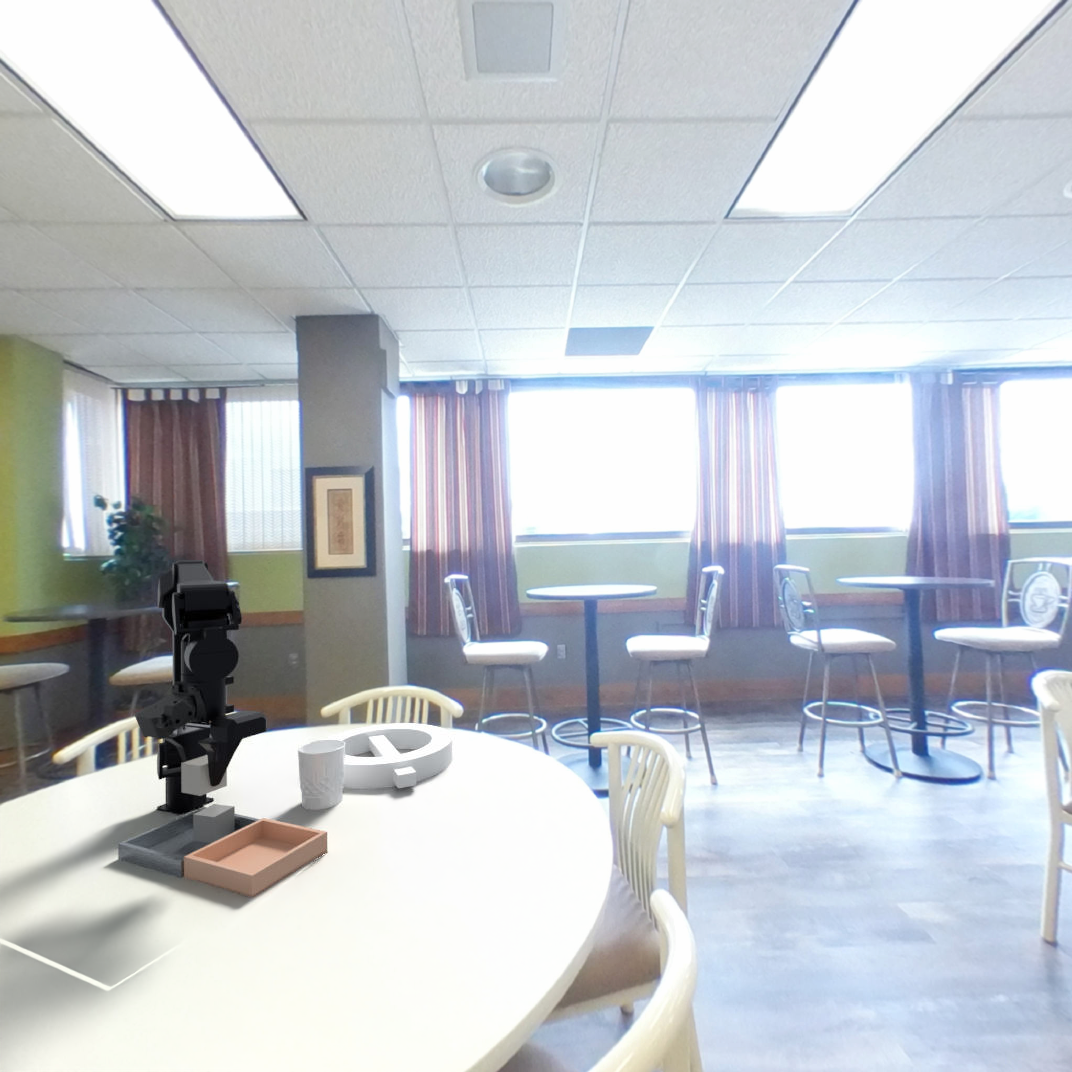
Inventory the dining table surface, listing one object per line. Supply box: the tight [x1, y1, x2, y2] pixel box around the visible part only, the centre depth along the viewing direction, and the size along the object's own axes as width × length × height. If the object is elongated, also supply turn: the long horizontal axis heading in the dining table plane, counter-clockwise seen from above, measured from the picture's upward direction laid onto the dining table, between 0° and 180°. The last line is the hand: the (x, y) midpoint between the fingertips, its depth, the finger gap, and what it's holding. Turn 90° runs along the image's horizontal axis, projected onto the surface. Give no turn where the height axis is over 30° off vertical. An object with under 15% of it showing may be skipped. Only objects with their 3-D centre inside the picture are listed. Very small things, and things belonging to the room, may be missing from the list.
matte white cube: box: [181, 755, 228, 796], centre depth 84 cm, size 4×4×4 cm
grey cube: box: [193, 803, 236, 843], centre depth 93 cm, size 4×4×4 cm
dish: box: [183, 817, 328, 899], centre depth 84 cm, size 13×13×3 cm
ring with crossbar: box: [324, 722, 453, 790], centre depth 126 cm, size 28×28×5 cm
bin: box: [117, 806, 261, 879], centre depth 90 cm, size 14×14×2 cm
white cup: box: [297, 739, 345, 811], centre depth 106 cm, size 8×8×10 cm
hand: (205, 783), depth 84 cm, fingers closed on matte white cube, 4 cm apart
